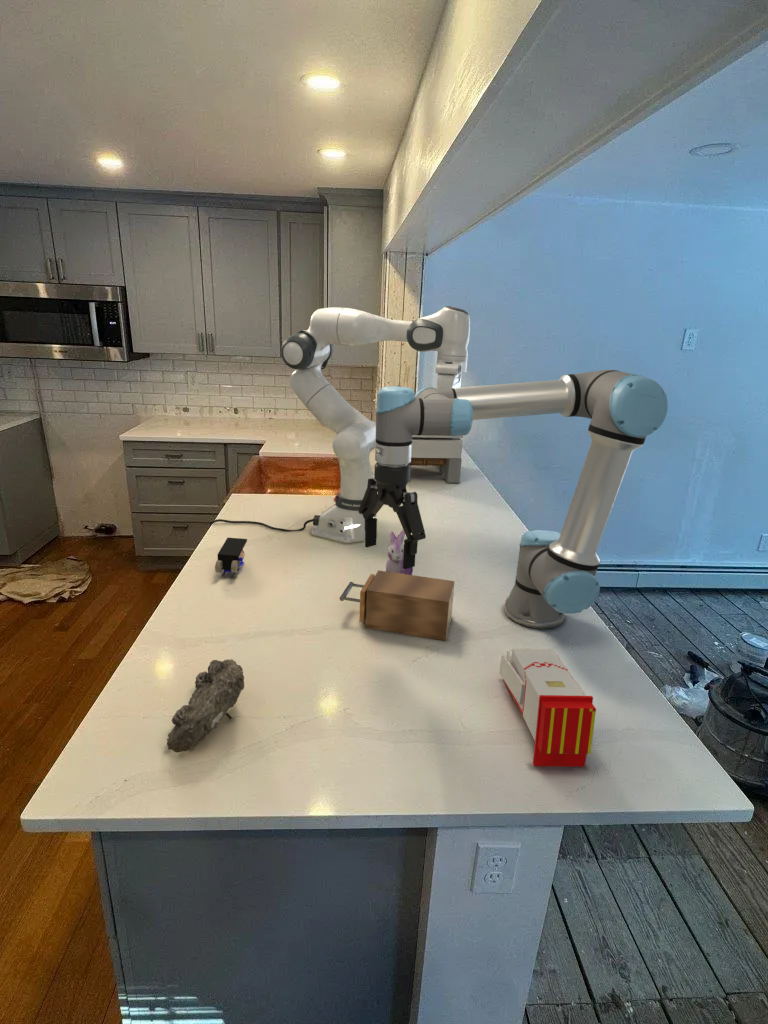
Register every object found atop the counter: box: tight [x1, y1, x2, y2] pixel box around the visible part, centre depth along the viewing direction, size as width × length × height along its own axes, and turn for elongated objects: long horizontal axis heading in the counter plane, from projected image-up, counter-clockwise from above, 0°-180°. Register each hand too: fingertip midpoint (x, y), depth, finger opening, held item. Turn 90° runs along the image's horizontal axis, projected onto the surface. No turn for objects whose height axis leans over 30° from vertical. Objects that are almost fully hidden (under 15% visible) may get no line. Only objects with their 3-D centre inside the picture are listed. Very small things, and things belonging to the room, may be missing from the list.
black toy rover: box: [214, 537, 248, 578], centre depth 166 cm, size 7×8×15 cm
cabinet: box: [365, 570, 456, 642], centre depth 142 cm, size 20×11×11 cm, turn 77°
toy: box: [499, 648, 597, 768], centre depth 111 cm, size 12×13×30 cm
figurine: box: [385, 529, 414, 575], centre depth 164 cm, size 9×10×15 cm
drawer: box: [338, 573, 376, 623], centre depth 143 cm, size 24×10×8 cm, turn 77°
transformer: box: [397, 384, 464, 484], centre depth 268 cm, size 34×33×41 cm
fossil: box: [166, 658, 245, 754], centre depth 106 cm, size 22×10×15 cm
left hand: (447, 412), depth 172 cm, fingers open, 8 cm apart
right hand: (388, 556), depth 125 cm, fingers open, 13 cm apart
